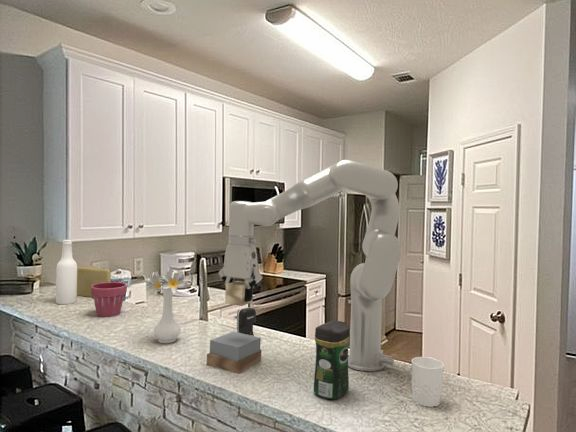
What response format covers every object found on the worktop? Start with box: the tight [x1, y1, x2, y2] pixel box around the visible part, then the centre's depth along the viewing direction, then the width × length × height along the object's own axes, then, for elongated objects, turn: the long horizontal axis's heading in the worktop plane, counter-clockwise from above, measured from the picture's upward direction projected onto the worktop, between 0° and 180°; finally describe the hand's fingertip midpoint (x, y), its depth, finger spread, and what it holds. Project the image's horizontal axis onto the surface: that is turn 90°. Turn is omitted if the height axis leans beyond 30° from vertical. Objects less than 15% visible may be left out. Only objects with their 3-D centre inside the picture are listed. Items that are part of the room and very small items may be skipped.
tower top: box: [209, 331, 262, 361], centre depth 127 cm, size 11×11×4 cm
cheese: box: [77, 265, 112, 299], centre depth 209 cm, size 22×10×15 cm, turn 57°
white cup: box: [411, 356, 445, 407], centre depth 105 cm, size 8×8×10 cm
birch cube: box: [224, 280, 254, 307], centre depth 126 cm, size 6×6×6 cm
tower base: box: [206, 348, 262, 374], centre depth 127 cm, size 12×12×4 cm
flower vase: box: [144, 270, 190, 344], centre depth 145 cm, size 13×18×25 cm
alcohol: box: [55, 239, 78, 306], centre depth 195 cm, size 9×9×30 cm
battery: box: [236, 306, 257, 336], centre depth 149 cm, size 7×4×11 cm, turn 139°
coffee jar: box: [313, 319, 350, 400], centre depth 108 cm, size 10×8×19 cm
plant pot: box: [91, 281, 128, 318], centre depth 177 cm, size 14×14×13 cm
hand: (239, 299), depth 126 cm, fingers closed on birch cube, 6 cm apart
